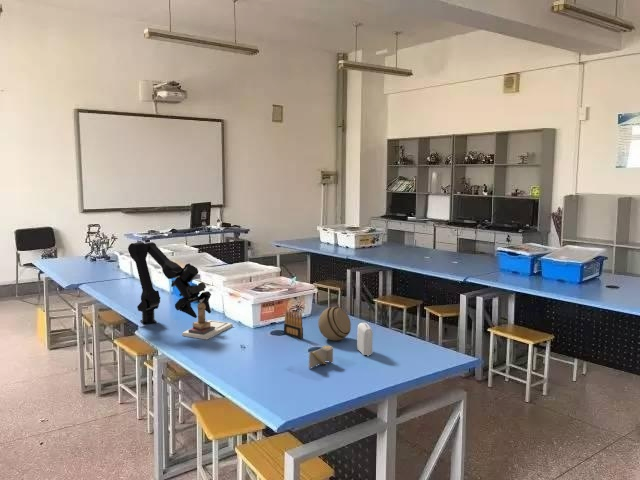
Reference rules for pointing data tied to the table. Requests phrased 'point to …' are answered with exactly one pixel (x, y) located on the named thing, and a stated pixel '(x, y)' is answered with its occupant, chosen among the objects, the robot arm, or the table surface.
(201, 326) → the stamp
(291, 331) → the ammunition clip
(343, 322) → the brown grooved ball
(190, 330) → the ink pad
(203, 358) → the table surface
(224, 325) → the stamping board
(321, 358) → the model
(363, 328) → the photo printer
